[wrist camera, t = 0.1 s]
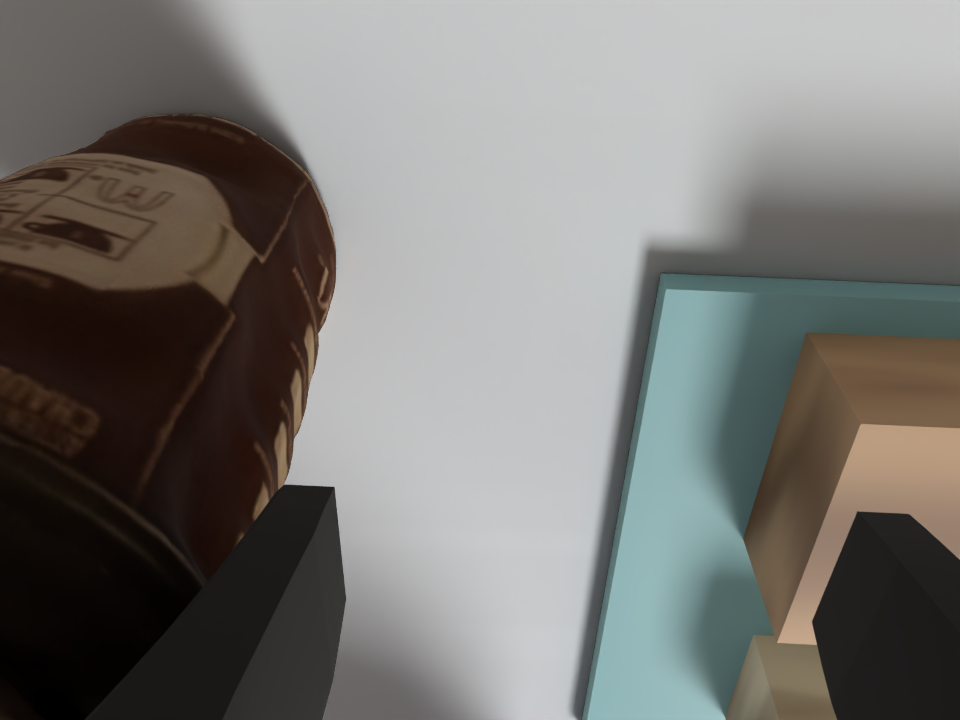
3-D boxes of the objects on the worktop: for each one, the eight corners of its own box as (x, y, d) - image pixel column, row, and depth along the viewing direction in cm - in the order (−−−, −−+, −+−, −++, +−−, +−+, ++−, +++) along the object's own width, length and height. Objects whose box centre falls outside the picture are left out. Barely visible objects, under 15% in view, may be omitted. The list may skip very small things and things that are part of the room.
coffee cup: (-59, 127, 17) (-990, 620, 7) (261, -21, 15) (-358, 356, 5) (166, 415, 22) (-178, 983, 11) (437, 331, 20) (329, 932, 9)
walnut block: (987, 550, 22) (1058, 656, 19) (743, 539, 22) (776, 643, 20) (1103, 345, 18) (1213, 439, 16) (806, 332, 19) (860, 423, 16)
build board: (956, 743, 29) (966, 764, 28) (580, 724, 29) (582, 745, 29) (1250, 298, 19) (1277, 315, 18) (660, 273, 19) (665, 289, 18)
